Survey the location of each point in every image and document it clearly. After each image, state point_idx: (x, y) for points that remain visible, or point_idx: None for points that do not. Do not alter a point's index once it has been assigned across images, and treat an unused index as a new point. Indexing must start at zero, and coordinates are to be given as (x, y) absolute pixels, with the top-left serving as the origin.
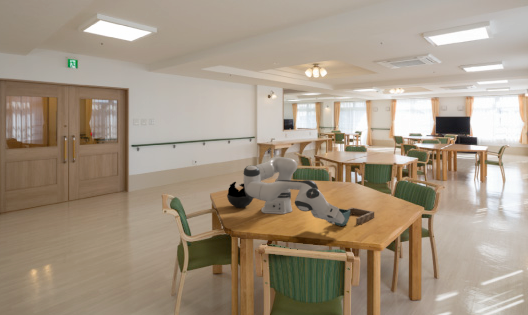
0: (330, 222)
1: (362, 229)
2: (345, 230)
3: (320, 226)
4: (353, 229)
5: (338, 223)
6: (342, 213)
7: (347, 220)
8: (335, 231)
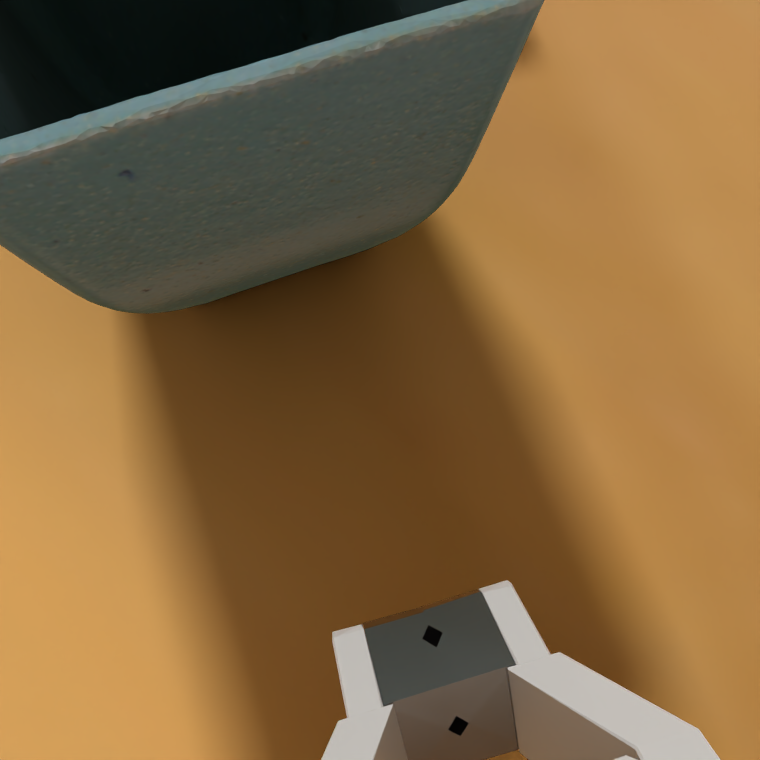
0: (455, 751)
1: (731, 58)
2: (639, 390)
3: (38, 750)
4: (656, 197)
5: (287, 273)
6: (470, 36)
7: (363, 24)
8: (596, 669)
